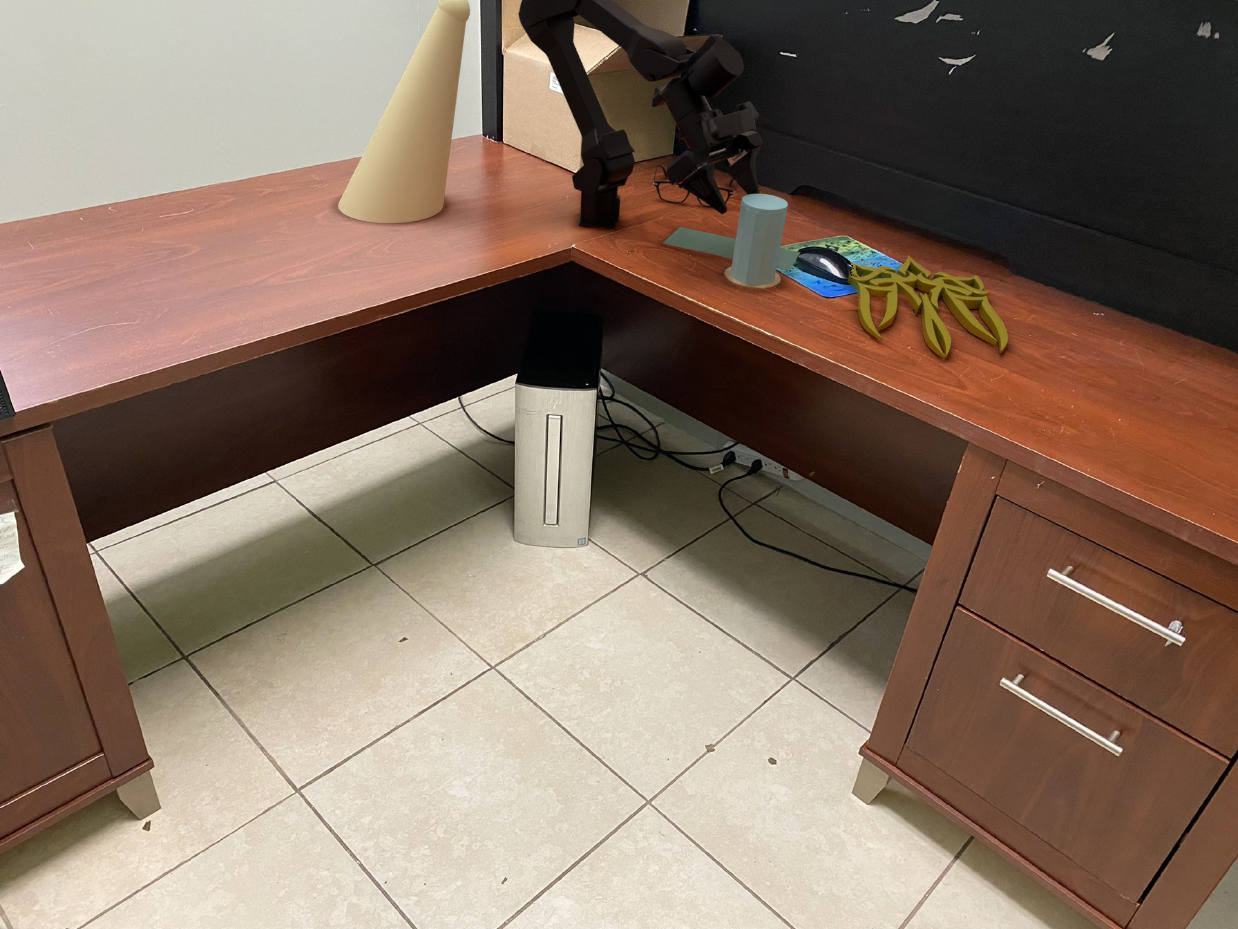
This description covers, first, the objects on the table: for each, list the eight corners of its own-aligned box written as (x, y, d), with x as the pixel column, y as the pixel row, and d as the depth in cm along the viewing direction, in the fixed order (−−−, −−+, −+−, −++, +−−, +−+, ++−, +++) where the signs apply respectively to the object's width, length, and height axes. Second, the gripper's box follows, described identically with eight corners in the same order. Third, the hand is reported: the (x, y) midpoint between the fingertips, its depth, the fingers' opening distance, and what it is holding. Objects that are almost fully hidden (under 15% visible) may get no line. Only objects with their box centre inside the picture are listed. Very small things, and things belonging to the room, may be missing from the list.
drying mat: (662, 245, 147) (662, 243, 147) (679, 229, 154) (679, 226, 154) (788, 273, 141) (788, 270, 141) (800, 254, 148) (800, 252, 148)
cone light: (320, 215, 148) (288, -16, 127) (361, 183, 163) (339, -30, 142) (460, 233, 146) (450, 0, 126) (489, 198, 161) (484, -15, 140)
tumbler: (729, 281, 136) (740, 206, 129) (732, 264, 141) (743, 191, 134) (774, 287, 135) (787, 211, 128) (774, 269, 141) (788, 196, 134)
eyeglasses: (648, 201, 165) (650, 180, 163) (658, 176, 178) (660, 156, 176) (734, 211, 164) (737, 190, 161) (738, 185, 176) (741, 165, 174)
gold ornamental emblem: (974, 261, 146) (1028, 361, 118) (971, 270, 147) (1024, 371, 119) (842, 247, 147) (865, 342, 119) (840, 256, 148) (862, 352, 120)
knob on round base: (725, 288, 135) (730, 254, 131) (722, 265, 142) (727, 232, 139) (783, 292, 135) (789, 259, 132) (776, 269, 142) (782, 237, 139)
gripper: (691, 92, 121) (745, 192, 122) (762, 76, 133) (811, 166, 134) (642, 137, 129) (693, 229, 130) (714, 117, 141) (759, 202, 142)
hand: (741, 205), depth 134 cm, fingers open, 9 cm apart
